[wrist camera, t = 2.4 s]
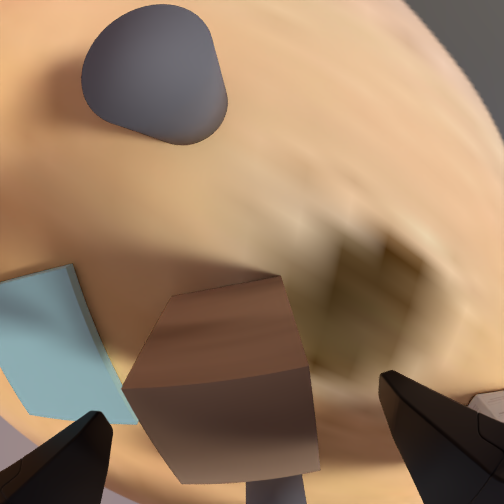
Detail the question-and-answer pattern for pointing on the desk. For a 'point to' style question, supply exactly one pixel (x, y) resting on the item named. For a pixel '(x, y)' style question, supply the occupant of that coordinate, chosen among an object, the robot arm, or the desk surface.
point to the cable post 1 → (157, 75)
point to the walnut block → (227, 386)
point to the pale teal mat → (57, 349)
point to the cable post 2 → (276, 491)
